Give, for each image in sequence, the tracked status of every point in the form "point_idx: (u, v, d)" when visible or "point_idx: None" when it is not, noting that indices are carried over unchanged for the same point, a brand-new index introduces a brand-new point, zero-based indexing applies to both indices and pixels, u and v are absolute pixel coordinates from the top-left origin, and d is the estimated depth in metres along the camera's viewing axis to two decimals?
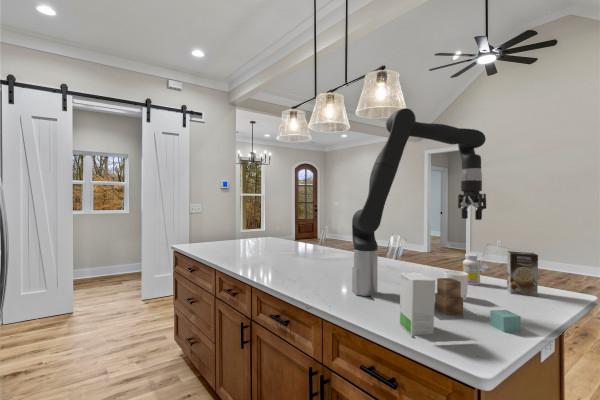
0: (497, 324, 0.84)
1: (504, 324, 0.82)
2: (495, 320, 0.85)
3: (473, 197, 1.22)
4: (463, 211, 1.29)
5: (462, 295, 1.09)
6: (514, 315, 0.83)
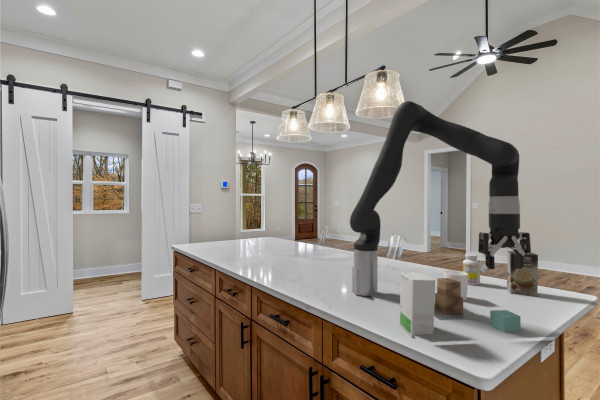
0: (497, 324, 0.84)
1: (504, 324, 0.82)
2: (495, 320, 0.85)
3: (516, 237, 0.86)
4: None
5: (462, 295, 1.09)
6: (514, 315, 0.83)
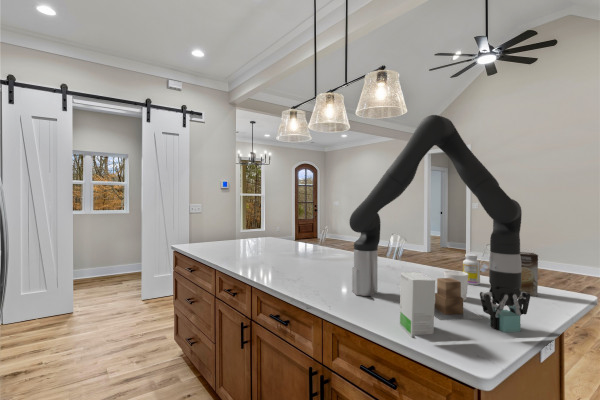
0: None
1: (504, 324, 0.82)
2: None
3: (516, 297, 0.84)
4: None
5: (462, 295, 1.09)
6: (514, 315, 0.83)
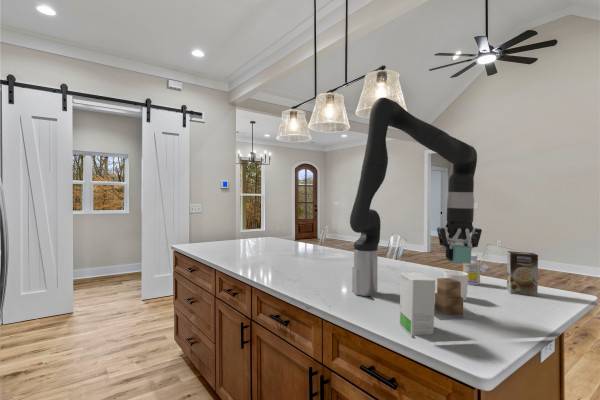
0: None
1: (456, 254, 0.93)
2: None
3: (469, 231, 0.95)
4: None
5: (462, 295, 1.09)
6: (466, 247, 0.94)
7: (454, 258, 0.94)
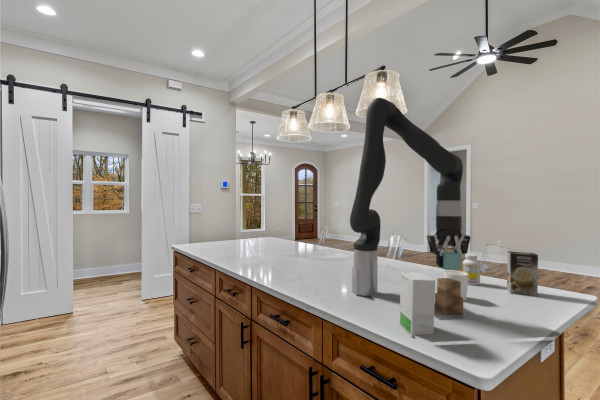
0: None
1: (446, 261, 0.95)
2: None
3: (458, 238, 0.97)
4: None
5: (462, 295, 1.09)
6: (455, 253, 0.97)
7: (444, 265, 0.96)
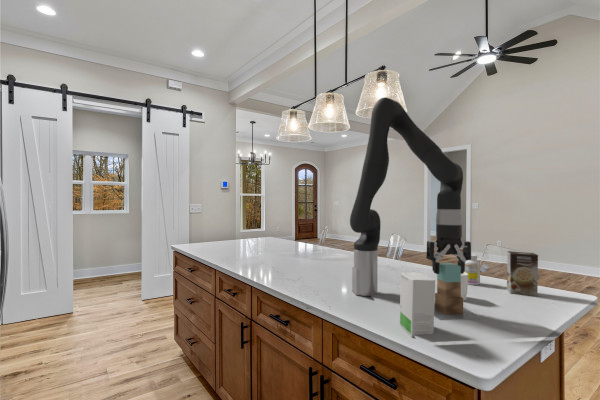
0: (441, 274, 0.98)
1: (446, 273, 0.95)
2: (440, 271, 0.98)
3: (458, 246, 0.97)
4: None
5: (462, 295, 1.09)
6: (455, 265, 0.97)
7: (444, 277, 0.96)
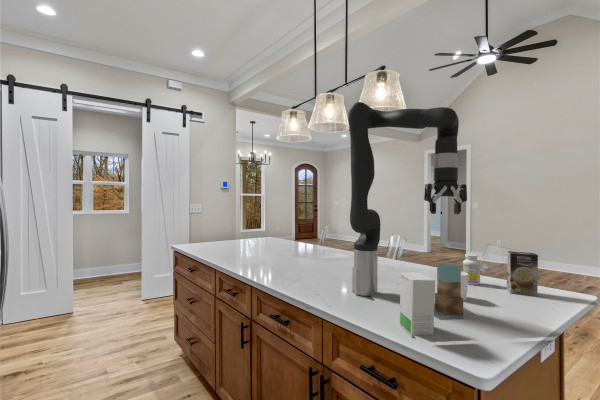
0: (441, 274, 0.98)
1: (446, 273, 0.95)
2: (440, 271, 0.98)
3: (455, 188, 1.04)
4: None
5: (462, 295, 1.09)
6: (455, 265, 0.97)
7: (444, 277, 0.96)
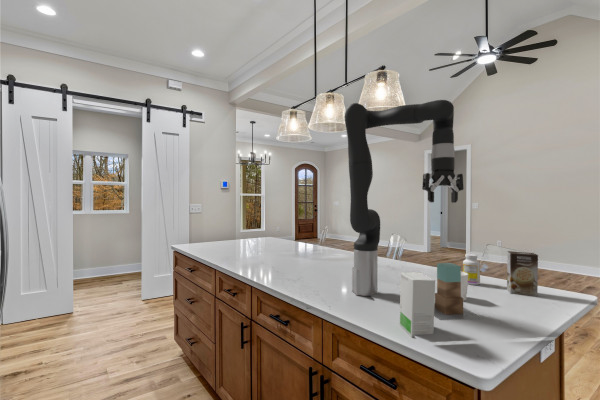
0: (441, 274, 0.98)
1: (446, 273, 0.95)
2: (440, 271, 0.98)
3: (451, 177, 1.08)
4: None
5: (462, 295, 1.09)
6: (455, 265, 0.97)
7: (444, 277, 0.96)
